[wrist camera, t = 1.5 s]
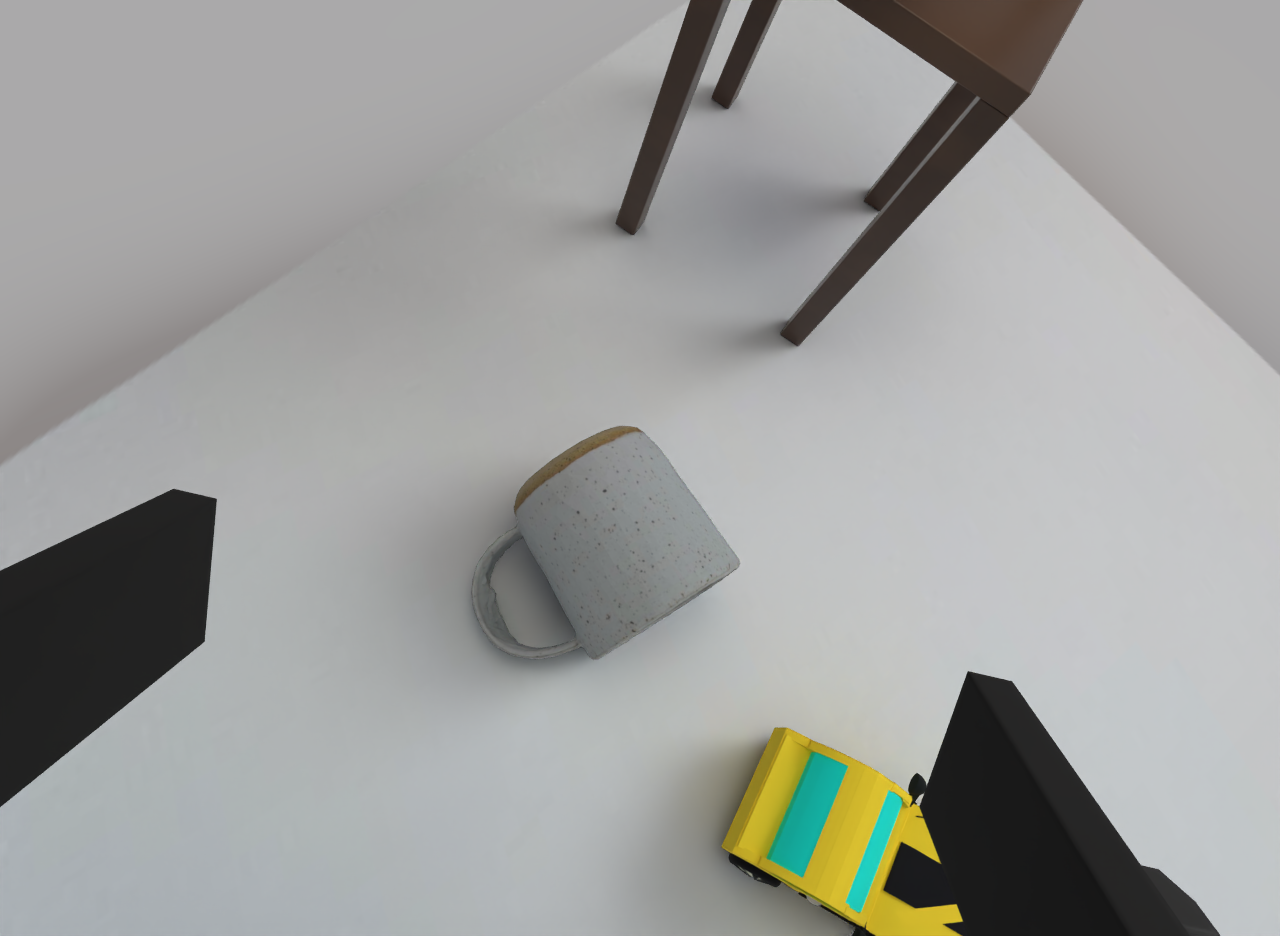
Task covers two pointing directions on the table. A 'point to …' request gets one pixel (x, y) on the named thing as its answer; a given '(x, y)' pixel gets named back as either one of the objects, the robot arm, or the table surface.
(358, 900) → the table surface
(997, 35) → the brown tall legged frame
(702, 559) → the ceramic mug
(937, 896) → the toy car
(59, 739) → the robot arm
